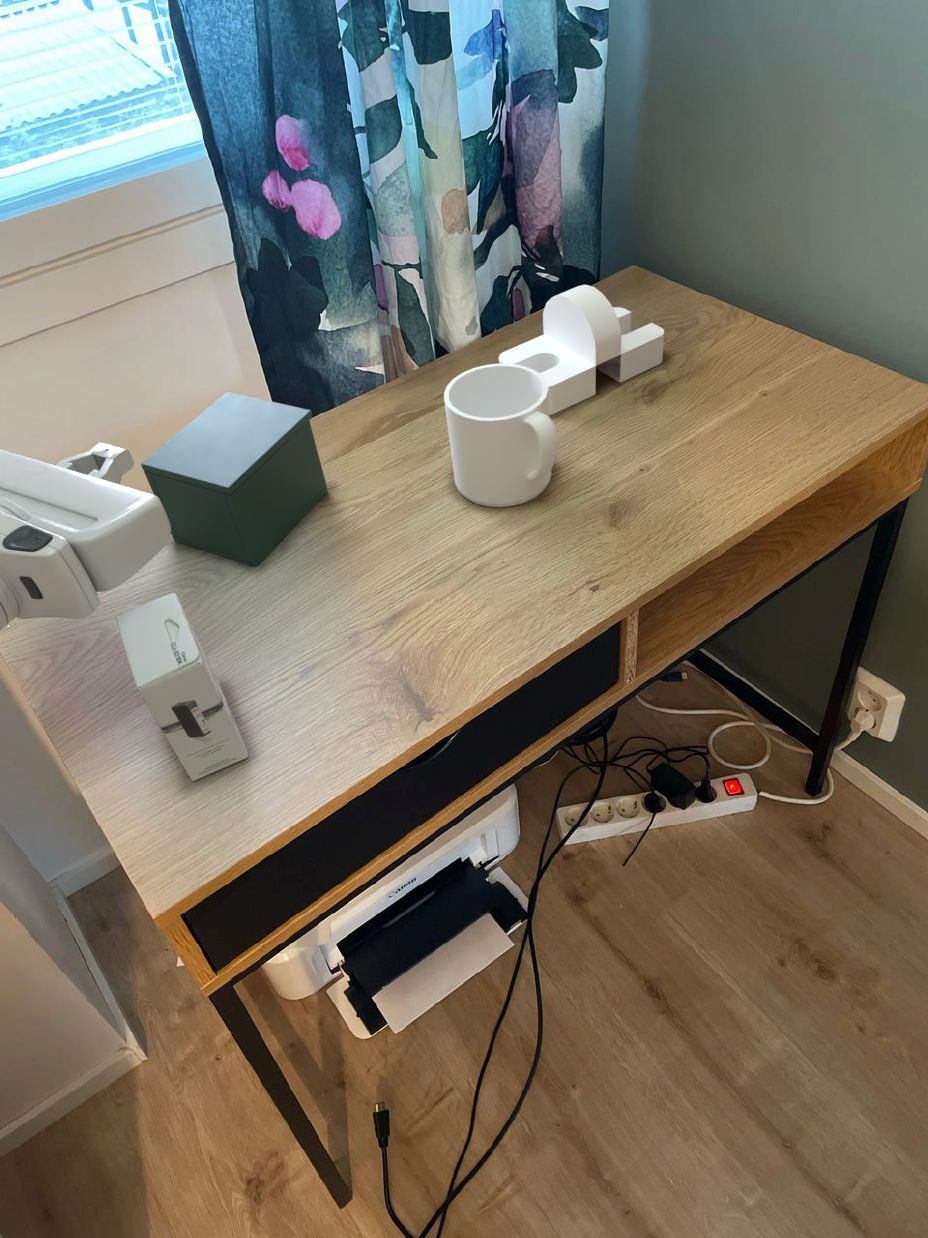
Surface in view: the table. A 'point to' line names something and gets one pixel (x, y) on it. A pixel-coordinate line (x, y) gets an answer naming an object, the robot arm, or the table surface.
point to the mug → (500, 434)
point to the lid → (227, 442)
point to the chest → (247, 503)
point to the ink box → (180, 686)
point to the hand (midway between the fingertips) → (119, 452)
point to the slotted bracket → (586, 346)
